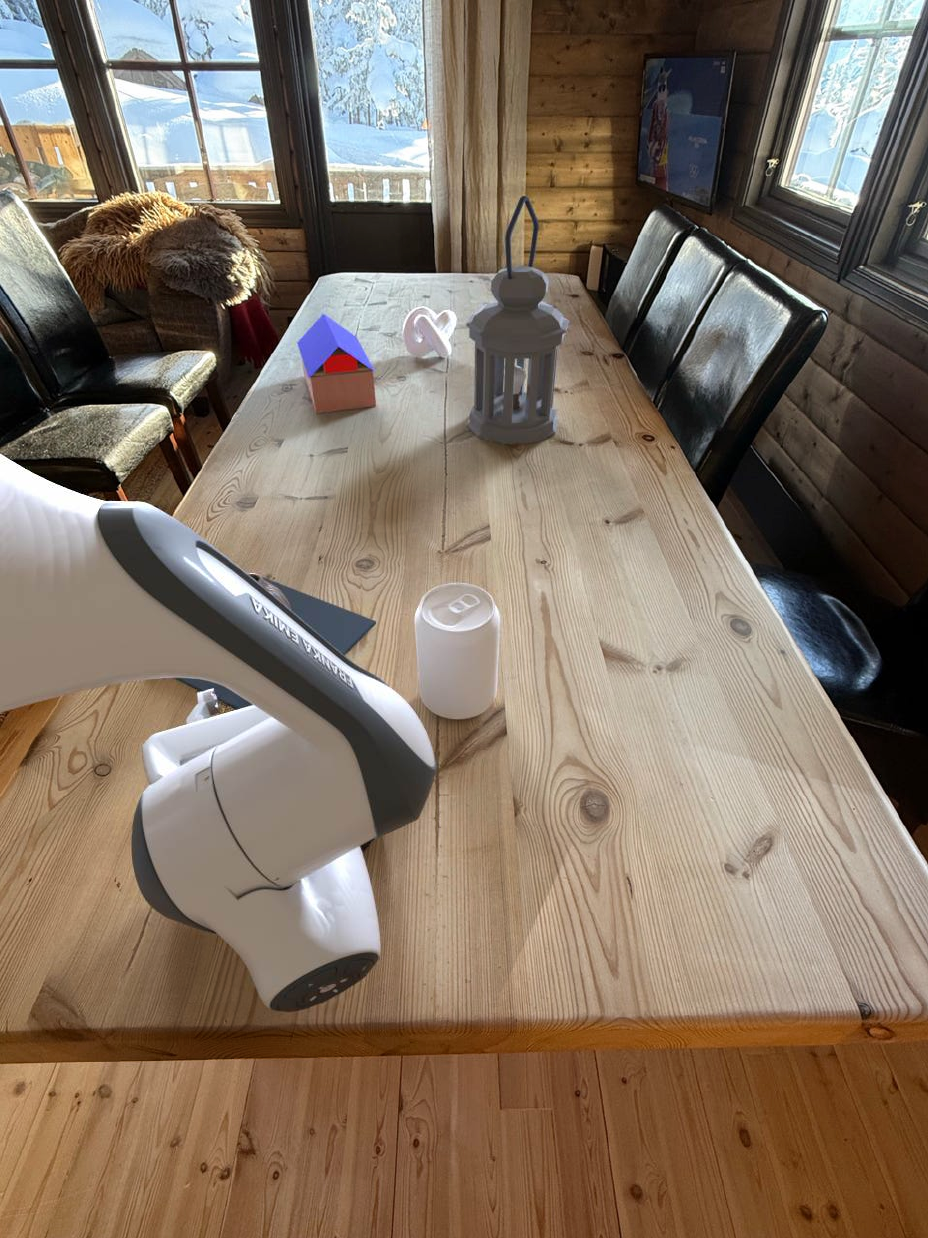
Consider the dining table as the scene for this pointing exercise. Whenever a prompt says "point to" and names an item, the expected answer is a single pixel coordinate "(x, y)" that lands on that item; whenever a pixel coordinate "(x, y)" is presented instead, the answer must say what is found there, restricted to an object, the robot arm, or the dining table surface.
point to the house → (336, 368)
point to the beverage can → (457, 650)
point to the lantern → (516, 352)
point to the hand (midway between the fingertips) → (258, 680)
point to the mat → (321, 617)
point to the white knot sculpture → (428, 332)
